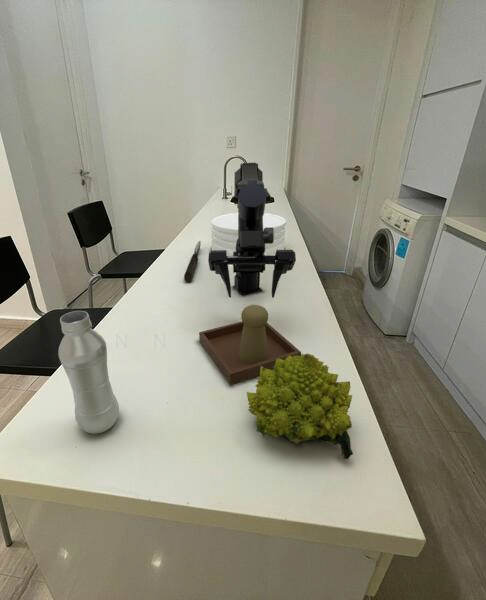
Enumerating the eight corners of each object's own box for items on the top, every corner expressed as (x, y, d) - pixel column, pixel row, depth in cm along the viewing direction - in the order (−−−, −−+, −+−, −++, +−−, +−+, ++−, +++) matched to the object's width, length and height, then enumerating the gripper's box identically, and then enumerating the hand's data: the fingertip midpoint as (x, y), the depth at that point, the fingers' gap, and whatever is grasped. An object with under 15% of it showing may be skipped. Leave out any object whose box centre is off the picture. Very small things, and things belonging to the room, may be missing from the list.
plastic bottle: (84, 410, 57) (56, 307, 47) (124, 406, 57) (104, 304, 48) (73, 441, 51) (39, 331, 42) (118, 437, 51) (94, 327, 42)
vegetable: (390, 453, 43) (335, 361, 40) (283, 493, 47) (227, 411, 45) (357, 391, 57) (315, 320, 54) (277, 426, 61) (234, 361, 59)
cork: (273, 360, 66) (277, 312, 61) (246, 367, 64) (247, 318, 59) (259, 344, 71) (261, 298, 66) (233, 350, 69) (233, 304, 64)
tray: (259, 325, 79) (260, 316, 78) (300, 362, 66) (301, 352, 65) (199, 341, 74) (198, 332, 73) (230, 385, 61) (230, 374, 60)
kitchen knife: (183, 267, 101) (184, 282, 103) (190, 267, 101) (191, 282, 103) (197, 235, 133) (198, 247, 135) (202, 235, 132) (203, 247, 135)
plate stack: (199, 246, 135) (198, 218, 130) (253, 235, 147) (254, 209, 142) (239, 267, 113) (239, 234, 108) (299, 251, 126) (302, 221, 120)
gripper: (207, 213, 69) (205, 283, 64) (298, 212, 67) (303, 283, 63) (211, 239, 79) (209, 301, 75) (289, 238, 78) (293, 301, 73)
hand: (251, 296), depth 71 cm, fingers open, 9 cm apart
